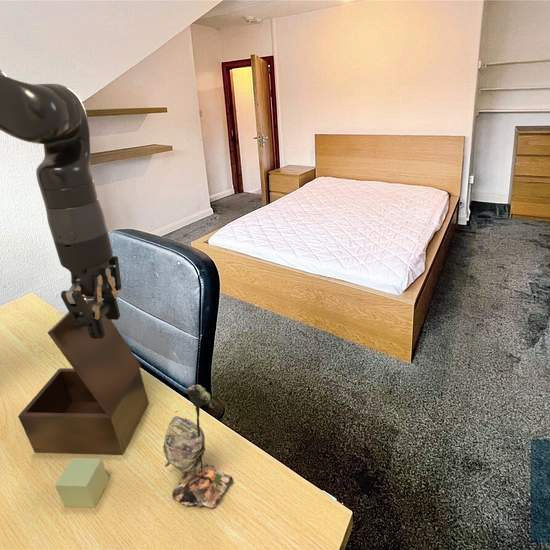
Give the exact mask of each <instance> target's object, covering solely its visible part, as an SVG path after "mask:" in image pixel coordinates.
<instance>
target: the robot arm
mask: <svg viewBox="0 0 550 550" xmlns="http://www.w3.org/2000/svg"><path fill="white" fill-rule="evenodd" d="M0 131H1V132H3V133H5V134H7V135H9V136H11V137H13V138H15V139H18V140H21V141H23V142H26V143H31V144H36V145H43V151H44V152H43V153H44V158H43V160H42V161H41V162H40V163H39V165H37V168H36V171H35V174H36V176H35V177H36V180H37V184H38V188H39V190H40V194H41V197H42V200H43V203H44V206H45V207H44V208H45V211H46V217H47V223H48V228H49V230H50V233H51V236H52V240H53V243H54V247H55V250H56V253H57V256H58V259H59V263H60V265H61V267H63V268H65V269H66V270H68V271H69V272H70V283H71V286H70V288H69V289H68V290H61V293H60V298H61V299H62V302H63V303H64V305H65V307H66V309H67V311H68V312H69V313H70V315H71V316H72V318H73V320H74V322H86V325H87V329H88V332H89V336H90V337H91V338H93V339H102V338H103V337H104V336H105V331H104V327H103V324H102V320H101V317H99V316H100V314H99V304H101V302H108V303H109V304H110V305H111V310H110V312H109V313H108V314H107V315H106V318H107V319H109V320H112V321H113V320H115V321H116V320H117V321H118V320H119V319H120V317H121V312H120V309H119V304H118V300H117V299H118V296H119V294H118V291H121V290H122V281H121V280H122V278H121V272H120V262H119V257H118V256H116V255H114V251H113V247H112V242H111V239H110V234H109V230H108V227H107V222H106V219H105V215H104V211H103V208H102V206H101V204H100V201H99V198H98V197H99V196H98V193H97V189H96V185H95V181H94V178H93V177H94V176H93V174H92V170H91V135H90V124H89V119H88V114H87V112H86V109H85V107H84V104H83V102H82V101H81V99H80V97H79V96H78V94H77V93H76V92H74V91H73V90H72V89H70V88H69V87H68V86H65V85H63V84H59V83H35V84H33V83H27V82H24V81H20V80H17V79H14V78H11V77H9V76H8V75H6V73H4V72H3V71H2V69H0ZM85 296H94V299H85V298H84V297H85ZM88 305H92V312H91V311H90V309H89V307H88ZM79 312H80V314H79Z"/></svg>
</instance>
